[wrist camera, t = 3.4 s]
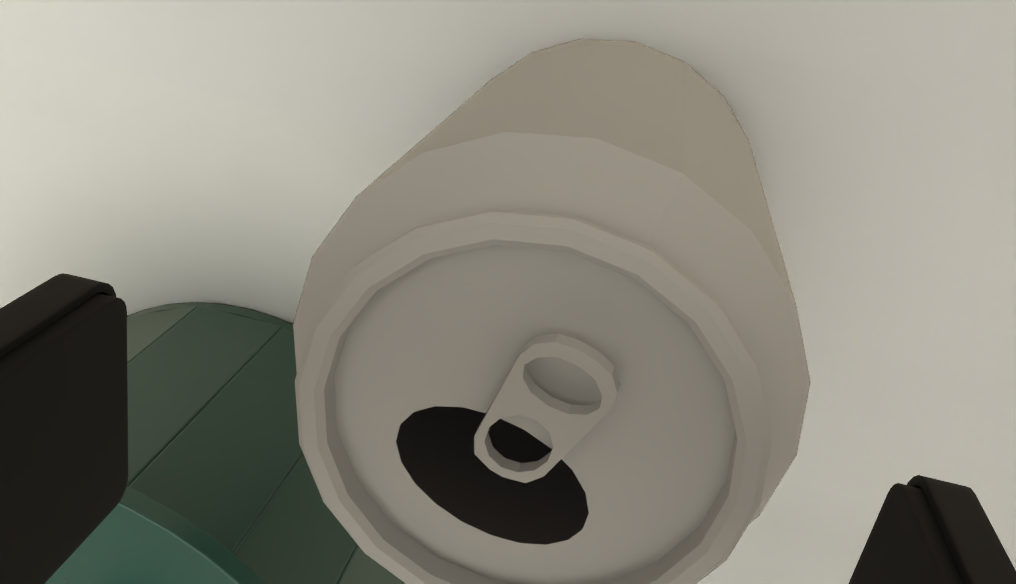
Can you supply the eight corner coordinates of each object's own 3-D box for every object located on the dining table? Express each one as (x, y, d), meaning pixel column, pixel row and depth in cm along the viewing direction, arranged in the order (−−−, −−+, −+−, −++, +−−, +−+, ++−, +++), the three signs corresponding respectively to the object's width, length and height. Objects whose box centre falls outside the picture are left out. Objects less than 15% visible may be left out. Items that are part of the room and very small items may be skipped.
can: (405, 232, 24) (167, 505, 13) (543, -30, 20) (384, 37, 10) (646, 374, 24) (616, 757, 13) (819, 138, 21) (970, 386, 10)
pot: (45, 258, 26) (-224, 404, 18) (461, 360, 25) (360, 561, 17) (61, 584, 31) (-142, 804, 23) (405, 681, 30) (310, 946, 22)
